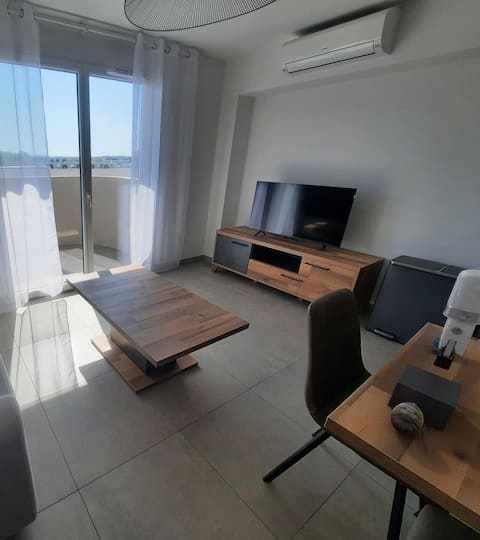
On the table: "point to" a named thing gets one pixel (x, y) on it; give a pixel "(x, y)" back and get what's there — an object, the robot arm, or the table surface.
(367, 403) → the table surface
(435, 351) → the block
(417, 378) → the dark grey box
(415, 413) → the seashell
